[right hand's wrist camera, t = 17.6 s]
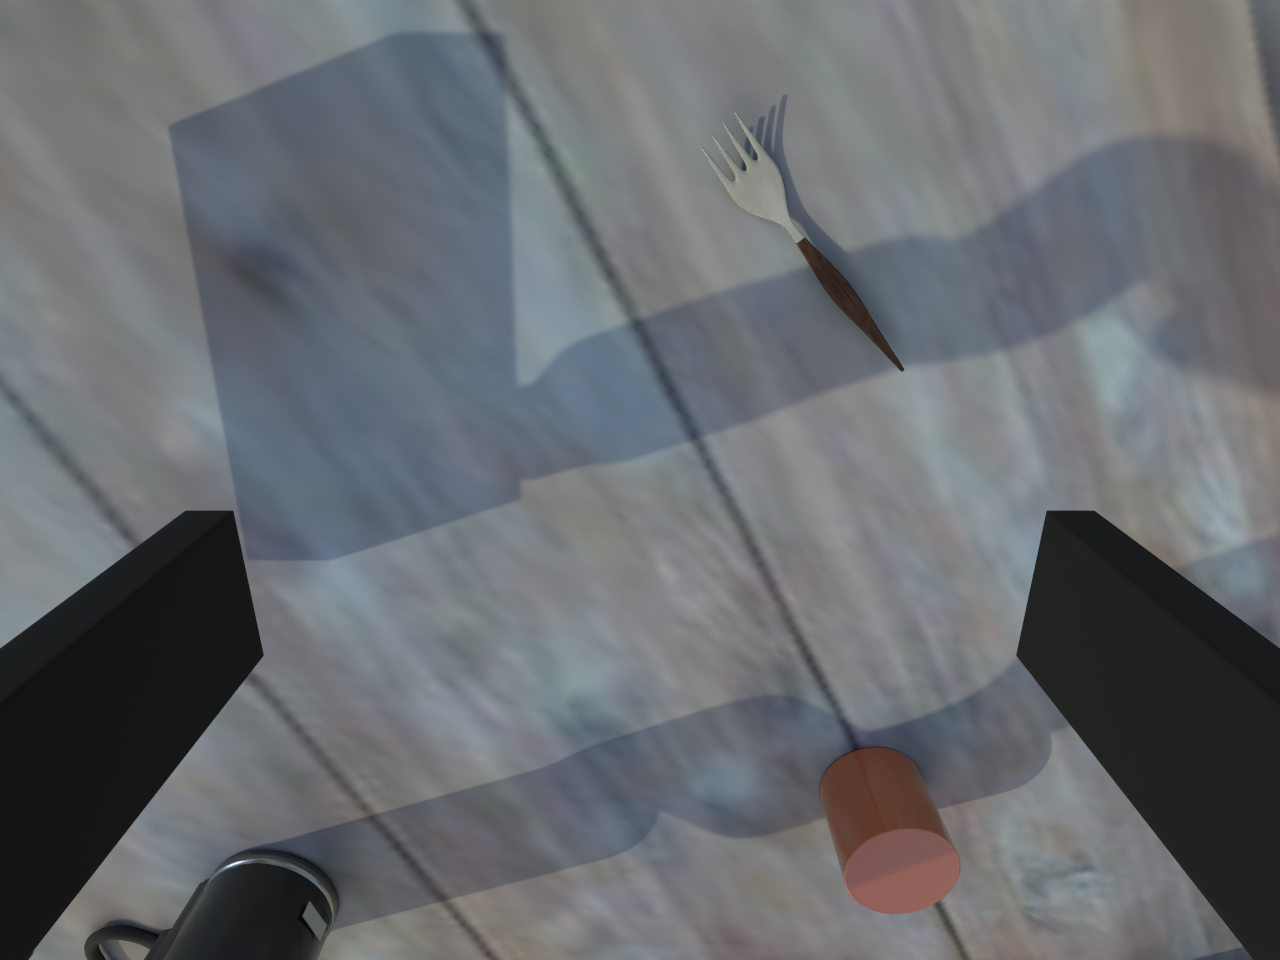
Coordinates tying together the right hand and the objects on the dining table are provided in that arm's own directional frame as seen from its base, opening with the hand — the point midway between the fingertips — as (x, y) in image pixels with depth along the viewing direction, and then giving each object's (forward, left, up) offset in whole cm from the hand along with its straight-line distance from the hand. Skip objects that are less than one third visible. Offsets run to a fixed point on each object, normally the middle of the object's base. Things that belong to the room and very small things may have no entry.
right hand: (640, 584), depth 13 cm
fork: (-7, +6, -31) cm, 32 cm away
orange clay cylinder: (+18, +32, -31) cm, 48 cm away
